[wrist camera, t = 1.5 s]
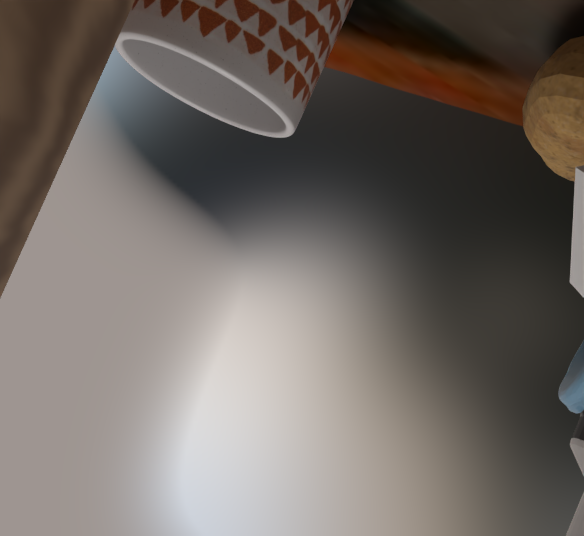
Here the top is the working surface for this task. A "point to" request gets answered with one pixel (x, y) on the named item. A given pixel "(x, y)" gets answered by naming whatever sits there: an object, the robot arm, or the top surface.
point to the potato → (558, 109)
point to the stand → (45, 99)
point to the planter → (235, 55)
